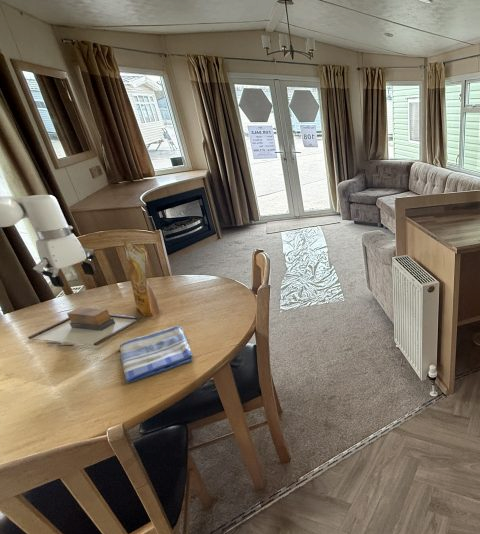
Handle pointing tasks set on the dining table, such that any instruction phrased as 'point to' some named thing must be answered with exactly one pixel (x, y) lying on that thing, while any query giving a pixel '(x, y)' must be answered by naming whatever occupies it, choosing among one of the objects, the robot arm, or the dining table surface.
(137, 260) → the pancake mix bag
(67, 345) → the stroke
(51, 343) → the stroke
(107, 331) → the memo board
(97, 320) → the eraser
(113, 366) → the dining table surface
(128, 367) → the dish towel
